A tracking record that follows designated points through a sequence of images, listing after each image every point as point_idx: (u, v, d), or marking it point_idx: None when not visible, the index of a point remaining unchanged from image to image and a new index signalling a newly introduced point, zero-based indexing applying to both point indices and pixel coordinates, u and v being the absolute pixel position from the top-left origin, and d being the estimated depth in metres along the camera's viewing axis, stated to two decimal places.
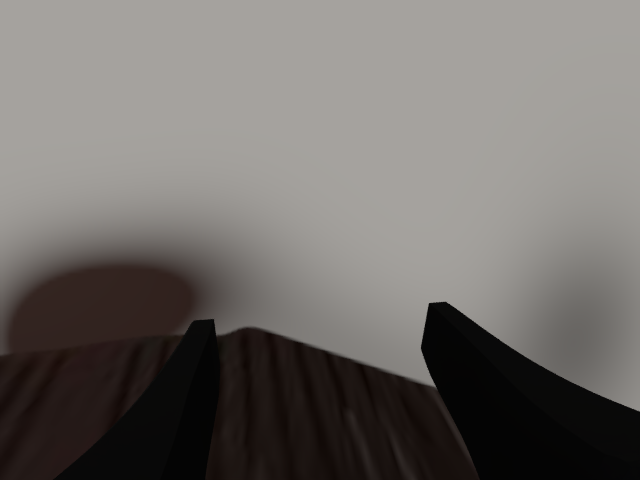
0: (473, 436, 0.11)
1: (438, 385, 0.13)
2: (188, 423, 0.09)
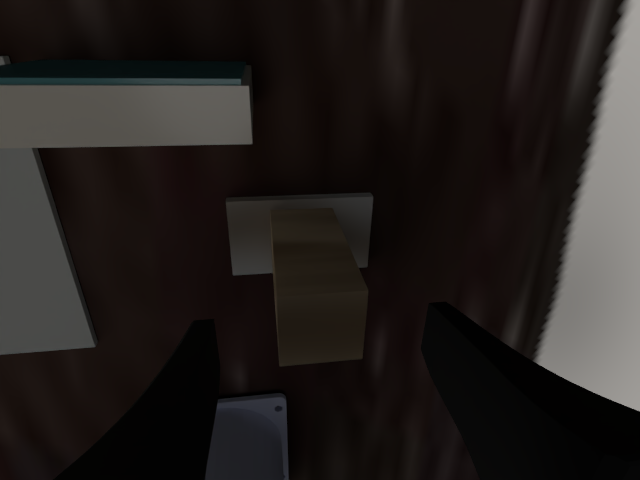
0: (473, 436, 0.11)
1: (438, 384, 0.13)
2: (188, 423, 0.09)
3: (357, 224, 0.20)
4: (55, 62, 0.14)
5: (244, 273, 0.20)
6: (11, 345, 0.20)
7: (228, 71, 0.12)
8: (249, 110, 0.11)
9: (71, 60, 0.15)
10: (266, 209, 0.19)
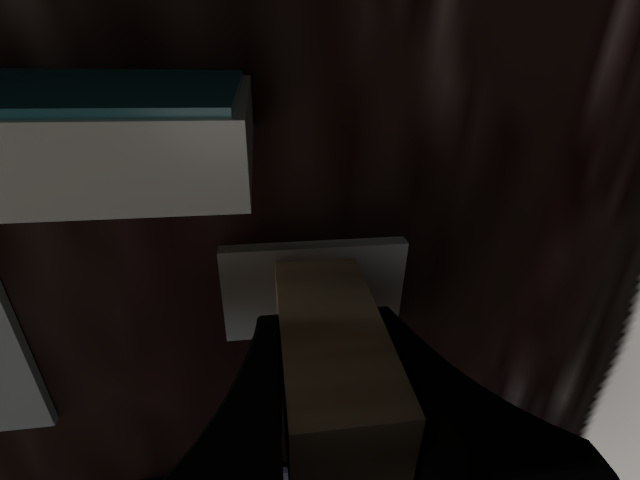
0: None
1: None
2: None
3: (386, 277, 0.15)
4: None
5: (241, 338, 0.16)
6: None
7: (214, 89, 0.08)
8: (246, 160, 0.06)
9: None
10: (270, 261, 0.14)
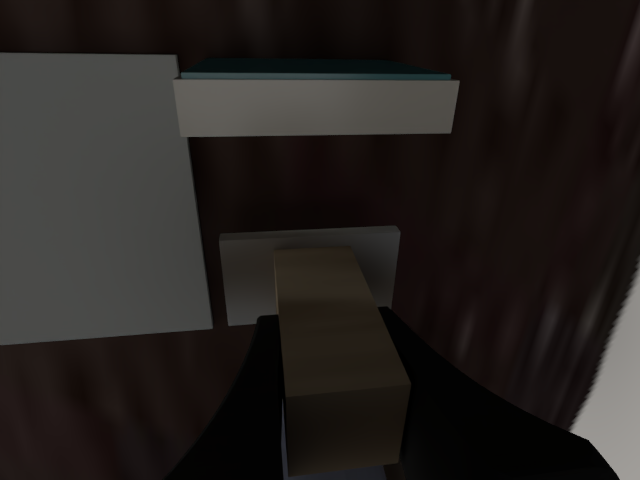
0: (403, 445, 0.11)
1: None
2: None
3: (380, 265, 0.16)
4: (231, 60, 0.15)
5: (242, 323, 0.17)
6: (138, 326, 0.22)
7: (411, 68, 0.13)
8: (454, 102, 0.12)
9: (235, 58, 0.16)
10: (269, 249, 0.15)
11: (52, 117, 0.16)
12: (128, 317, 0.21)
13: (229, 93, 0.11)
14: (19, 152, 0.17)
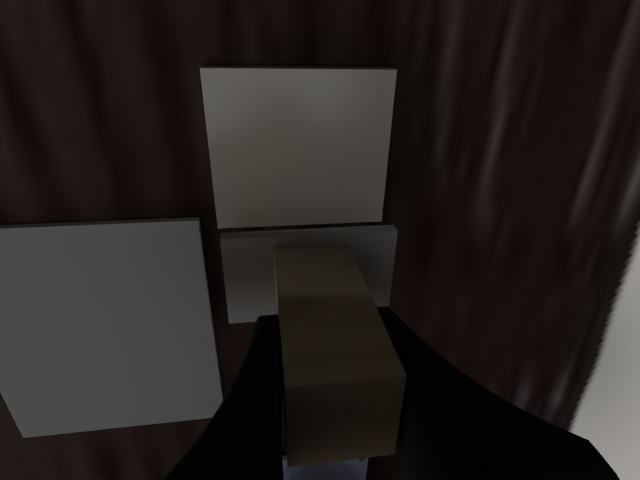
0: (403, 445, 0.11)
1: None
2: None
3: (377, 263, 0.17)
4: None
5: (242, 321, 0.17)
6: (160, 417, 0.25)
7: None
8: (390, 69, 0.17)
9: None
10: (269, 247, 0.16)
11: (96, 268, 0.20)
12: (152, 410, 0.25)
13: None
14: (67, 294, 0.20)
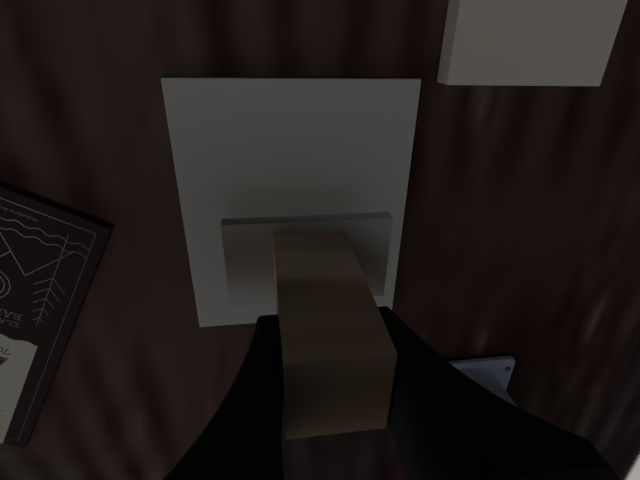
0: (403, 445, 0.11)
1: None
2: None
3: (373, 249, 0.17)
4: None
5: (242, 304, 0.18)
6: None
7: None
8: None
9: None
10: (268, 233, 0.16)
11: (313, 130, 0.19)
12: None
13: None
14: (280, 160, 0.20)
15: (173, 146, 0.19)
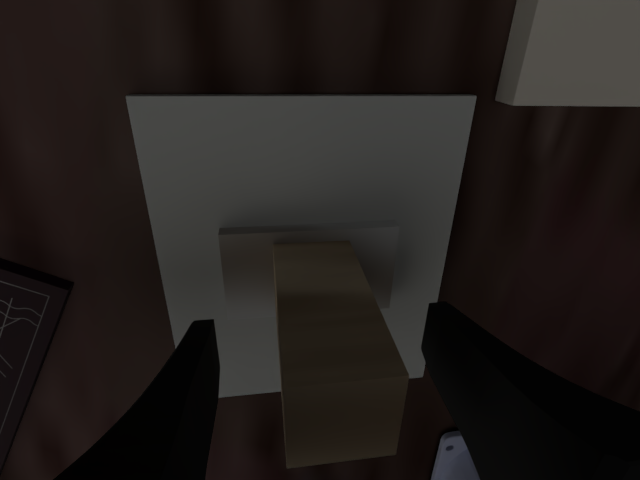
0: (473, 436, 0.11)
1: (438, 385, 0.13)
2: (188, 423, 0.09)
3: (379, 259, 0.16)
4: None
5: (241, 317, 0.17)
6: None
7: None
8: None
9: None
10: (268, 243, 0.15)
11: (332, 163, 0.15)
12: None
13: None
14: (288, 201, 0.15)
15: (146, 185, 0.14)
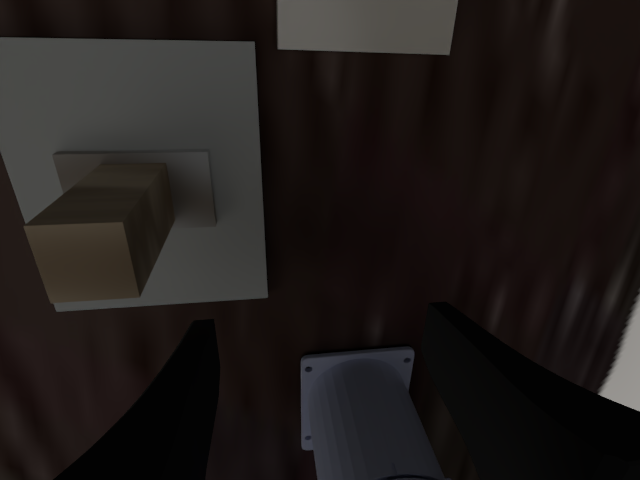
0: (473, 436, 0.11)
1: (438, 384, 0.13)
2: (188, 423, 0.09)
3: (196, 181, 0.20)
4: None
5: None
6: (201, 294, 0.24)
7: None
8: None
9: None
10: (96, 163, 0.19)
11: (144, 97, 0.18)
12: (192, 285, 0.23)
13: None
14: (112, 129, 0.19)
15: None
